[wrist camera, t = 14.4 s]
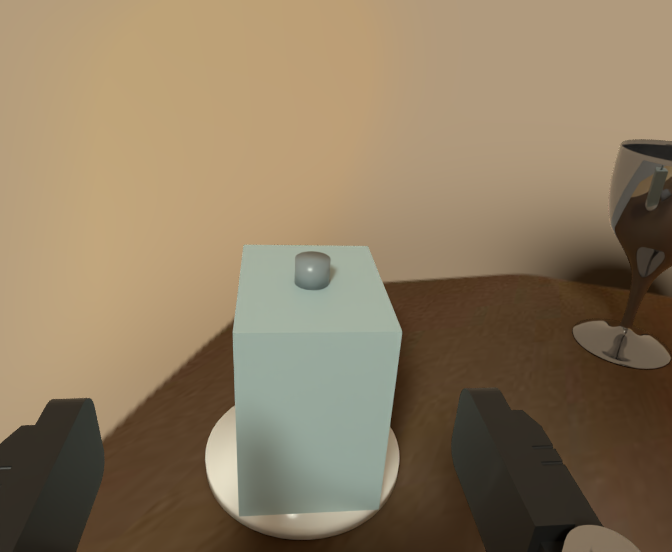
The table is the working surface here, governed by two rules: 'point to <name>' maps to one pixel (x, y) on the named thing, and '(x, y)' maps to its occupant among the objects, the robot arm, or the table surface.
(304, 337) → the cloche
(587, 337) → the wine glass
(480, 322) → the table surface
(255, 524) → the plate
